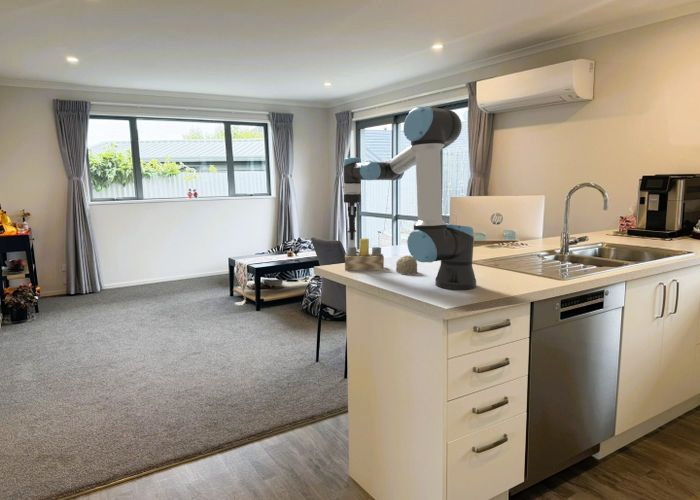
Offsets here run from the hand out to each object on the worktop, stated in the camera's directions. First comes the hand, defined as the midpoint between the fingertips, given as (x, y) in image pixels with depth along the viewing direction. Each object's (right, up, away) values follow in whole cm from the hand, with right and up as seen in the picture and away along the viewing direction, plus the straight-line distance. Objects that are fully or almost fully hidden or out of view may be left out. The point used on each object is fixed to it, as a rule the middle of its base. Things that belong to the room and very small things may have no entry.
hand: (352, 246), depth 209 cm
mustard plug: (+5, -5, +1) cm, 8 cm away
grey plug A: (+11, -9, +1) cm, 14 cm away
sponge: (+24, -11, -7) cm, 27 cm away
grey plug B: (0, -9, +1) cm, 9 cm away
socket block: (+5, -10, +1) cm, 11 cm away
